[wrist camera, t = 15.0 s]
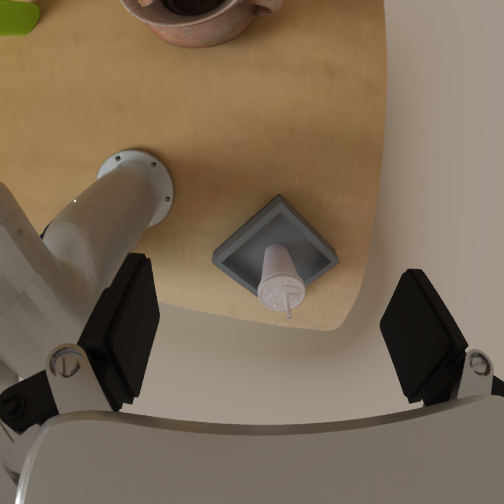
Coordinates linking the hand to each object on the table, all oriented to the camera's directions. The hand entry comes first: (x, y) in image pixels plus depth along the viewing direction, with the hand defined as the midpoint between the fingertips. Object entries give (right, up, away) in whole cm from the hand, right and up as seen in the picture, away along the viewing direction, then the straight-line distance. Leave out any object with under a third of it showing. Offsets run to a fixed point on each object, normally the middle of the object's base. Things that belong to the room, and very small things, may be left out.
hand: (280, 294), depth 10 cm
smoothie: (+3, +1, +36) cm, 36 cm away
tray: (+3, +2, +36) cm, 37 cm away
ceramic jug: (-6, +33, +16) cm, 37 cm away
